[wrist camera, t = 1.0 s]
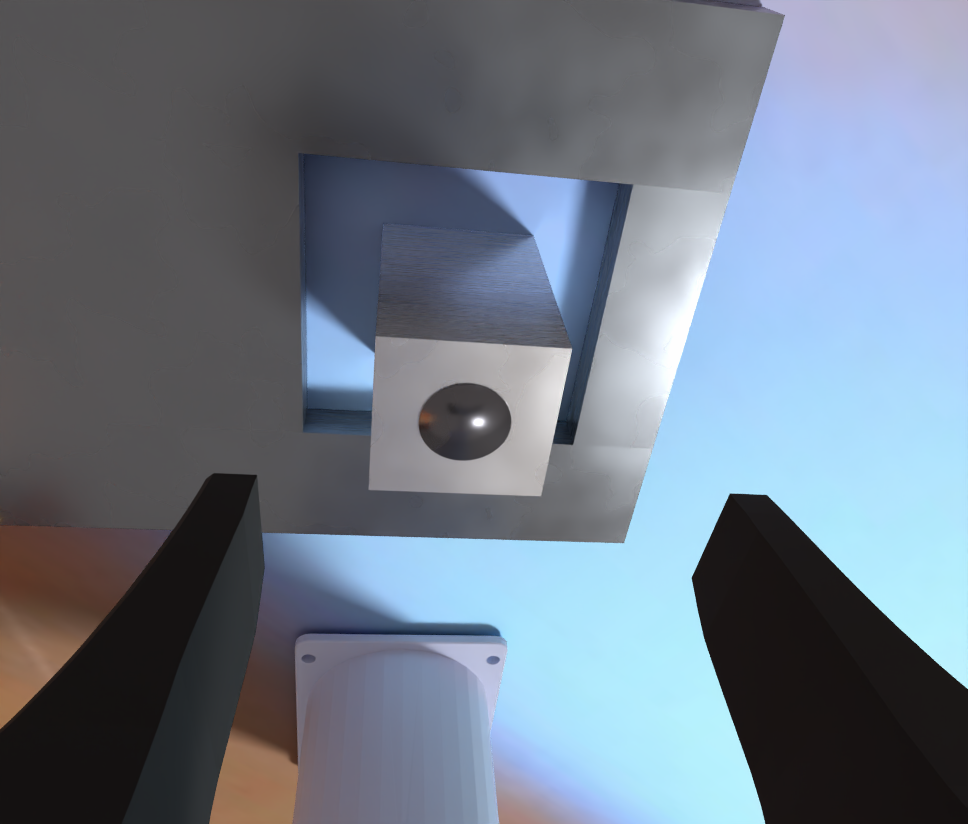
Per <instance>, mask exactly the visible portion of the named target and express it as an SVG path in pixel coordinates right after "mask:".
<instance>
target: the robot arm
mask: <svg viewBox="0 0 968 824" xmlns="http://www.w3.org/2000/svg"><path fill="white" fill-rule="evenodd" d="M264 568H265V566H264V554H263V541H262V529H261V517H260V504H259V492H258V479H257V475H250V474H225V473H213V474H212V475H210V476H209V477H208V478H206V480H205V481H204V483H203V485H202V486H201V488H200V490H199V491H198V493H197V495H196V496H195V498H194V499H193V501H192V502H191V504H190V506H189V507H188V509H187V510H186V512H185V513H184V515H183V516H182V518H181V519H180V521H179V522H178V523H177V525H176V526H175V528H174V529H173V531H172V532H171V533H170V535H169V536H168V538H167V539H166V541H165V542H164V543H163V545H162V546H161V548H160V549H159V550H158V552H157V553H156V554H155V556H154V557H153V558H152V559H151V561H150V562H149V563H148V565H147V566H146V567H145V569H144V570H143V571H142V573H141V574H140V575H139V577H138V578H137V579H136V581H135V582H134V583H133V584H132V586H131V587H130V588H129V590H128V591H127V592H126V593H125V595H124V596H123V597H122V598H121V600H120V601H119V602H118V603H117V604H116V606H115V607H114V608H113V609H112V610H111V611H110V613H109V614H108V615H107V616H106V617H105V619H104V620H103V621H102V622H101V623H100V624H99V626H98V627H97V628H96V629H95V630H94V631H93V633H92V634H91V635H90V636H89V637H88V639H87V640H86V641H85V642H84V643H83V644H82V646H81V647H80V648H79V649H78V650H77V651H76V652H75V653H74V654H73V656H72V657H71V658H70V659H69V660H68V661H67V662H66V663H65V664H64V665H63V667H62V668H61V669H60V670H59V671H58V672H57V673H56V674H55V675H54V676H53V677H52V678H51V679H50V680H49V681H48V682H47V684H46V685H45V686H44V687H43V688H42V689H41V690H40V691H39V692H38V693H37V694H36V695H35V696H34V697H33V698H32V699H31V700H30V701H29V702H28V703H27V704H26V705H25V706H24V707H23V708H22V709H21V710H20V711H19V712H18V713H17V714H16V715H15V716H14V717H13V718H12V719H11V720H10V721H9V722H8V723H7V724H6V725H4V726H3V727H2V728H1V729H0V824H209V821H210V815H211V810H212V805H213V800H214V796H215V791H216V786H217V782H218V778H219V774H220V770H221V766H222V762H223V758H224V754H225V750H226V746H227V743H228V739H229V735H230V731H231V727H232V723H233V719H234V715H235V711H236V708H237V704H238V700H239V696H240V692H241V688H242V684H243V680H244V676H245V672H246V668H247V664H248V660H249V657H250V653H251V649H252V645H253V641H254V636H255V632H256V626H257V619H258V612H259V605H260V598H261V590H262V583H263V576H264ZM692 582H693V587H694V592H695V597H696V603H697V608H698V613H699V617H700V622H701V626H702V631H703V635H704V639H705V642H706V645H707V648H708V651H709V654H710V657H711V660H712V663H713V666H714V669H715V672H716V675H717V678H718V680H719V683H720V686H721V689H722V692H723V695H724V698H725V700H726V703H727V706H728V709H729V712H730V715H731V717H732V720H733V723H734V726H735V729H736V732H737V734H738V737H739V740H740V743H741V746H742V749H743V751H744V754H745V757H746V760H747V763H748V766H749V768H750V771H751V774H752V777H753V781H754V784H755V787H756V790H757V794H758V797H759V800H760V804H761V807H762V811H763V815H764V820H765V824H968V689H967V688H966V687H965V686H963V685H962V684H961V683H960V682H959V681H957V680H956V679H955V678H954V677H953V676H952V675H950V674H949V673H948V672H947V671H946V670H945V669H943V668H942V667H941V666H940V665H939V664H938V663H936V662H935V661H934V660H933V659H932V658H931V657H930V656H929V655H928V654H927V653H926V652H924V651H923V650H922V649H921V648H920V647H919V646H918V645H917V644H916V643H915V642H913V641H912V640H911V639H910V638H909V637H908V636H907V635H906V634H905V633H904V632H902V631H901V630H900V629H899V628H898V627H897V626H896V625H895V624H894V623H893V622H892V621H891V620H890V619H889V618H888V617H887V616H886V615H885V614H884V613H883V612H881V611H880V610H879V609H878V608H877V607H876V606H875V605H874V604H873V603H872V602H871V601H870V600H869V599H868V598H867V597H866V596H865V595H864V594H863V593H862V592H861V591H860V590H859V589H858V588H857V587H856V586H855V585H854V584H853V583H852V582H851V581H850V580H849V579H848V578H847V577H846V576H845V575H844V574H843V573H842V572H841V571H840V570H839V568H838V567H837V566H836V565H835V564H834V563H833V562H832V561H831V560H830V559H829V558H828V557H827V556H826V555H825V554H824V553H823V552H822V551H821V550H820V549H819V548H818V547H817V546H816V545H815V544H814V543H813V542H812V541H811V539H810V538H809V537H808V536H807V535H806V534H805V533H804V532H803V531H802V530H801V529H800V528H799V527H798V526H797V525H796V524H795V523H794V522H793V521H792V520H791V519H790V518H789V517H788V516H787V515H786V514H785V513H784V512H783V511H782V510H781V509H780V508H779V507H778V506H777V505H776V504H775V503H774V502H773V501H772V500H771V499H770V498H769V497H768V496H767V495H753V494H730V495H729V497H728V499H727V501H726V503H725V506H724V508H723V510H722V512H721V514H720V517H719V519H718V521H717V523H716V525H715V528H714V530H713V532H712V534H711V536H710V539H709V541H708V543H707V545H706V548H705V550H704V552H703V554H702V556H701V559H700V561H699V563H698V565H697V567H696V570H695V572H694V574H693V576H692ZM309 654H310V655H309ZM506 656H507V643H506V640H505V639H504V638H502V637H500V636H465V635H382V634H304V635H301V636H299V637H298V638H297V640H296V644H295V674H296V708H297V742H298V782H297V791H296V799H295V807H294V816H293V824H499V819H498V808H497V798H496V788H495V777H494V767H493V757H492V746H491V736H490V732H491V727H492V722H493V717H494V713H495V708H496V703H497V698H498V694H499V689H500V684H501V679H502V675H503V670H504V665H505V660H506Z"/></svg>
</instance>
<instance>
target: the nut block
mask: <svg viewBox="0 0 968 824" xmlns="http://www.w3.org/2000/svg"><path fill="white" fill-rule="evenodd" d="M571 353H572V346H571V344H570V341H569V338H568V335H567V332H566V329H565V326H564V323H563V320H562V317H561V314H560V311H559V309H558V306H557V303H556V300H555V297H554V294H553V291H552V288H551V285H550V282H549V279H548V276H547V274H546V271H545V268H544V265H543V262H542V259H541V256H540V253H539V250H538V247H537V244H536V241H535V239H534V236H532V235H520V234H508V233H496V232H484V231H472V230H460V229H448V228H436V227H424V226H412V225H399V224H387V223H383V235H382V250H381V264H380V279H379V293H378V308H377V323H376V338H375V360H374V382H373V404H372V426H371V448H370V470H369V490H385V491H411V492H438V493H465V494H492V495H518V496H541V494H542V489H543V485H544V480H545V475H546V471H547V466H548V461H549V456H550V452H551V447H552V442H553V438H554V433H555V428H556V423H557V419H558V414H559V409H560V405H561V400H562V395H563V390H564V386H565V381H566V376H567V372H568V367H569V362H570V357H571Z"/></svg>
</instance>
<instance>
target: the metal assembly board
mask: <svg viewBox="0 0 968 824" xmlns="http://www.w3.org/2000/svg"><path fill="white" fill-rule="evenodd" d="M784 16H785V15H783V14H780V13H778V12H775V11H772V10H770V9H767V8H765V7H757V6H750V5H742V4H734V3H726V2H719V1H711V0H0V525H20V526H54V527H89V528H123V529H158V530H173V529H174V528H175V526H176V525H177V523H178V522H179V521H180V519H181V518H182V516H183V515H184V513H185V512H186V510H187V509H188V507H189V506H190V504H191V502H192V501H193V499H194V498H195V496H196V495H197V493H198V491H199V490H200V488H201V486H202V485H203V483H204V481H205V480H206V478H208V477H209V476H210V475H212V474H213V473H225V474H250V475H257V479H258V492H259V504H260V517H261V529H262V533H295V534H330V535H364V536H399V537H433V538H468V539H502V540H537V541H571V542H605V543H624V541H625V538H626V534H627V531H628V528H629V525H630V521H631V518H632V515H633V512H634V508H635V505H636V502H637V498H638V495H639V492H640V489H641V485H642V482H643V479H644V475H645V472H646V469H647V466H648V462H649V459H650V456H651V453H652V449H653V446H654V443H655V439H656V436H657V433H658V430H659V426H660V423H661V420H662V416H663V413H664V410H665V407H666V403H667V400H668V397H669V393H670V390H671V387H672V384H673V380H674V377H675V374H676V371H677V367H678V364H679V361H680V357H681V354H682V351H683V348H684V344H685V341H686V338H687V334H688V331H689V328H690V325H691V321H692V318H693V315H694V312H695V308H696V305H697V302H698V298H699V295H700V292H701V289H702V285H703V282H704V279H705V275H706V272H707V269H708V266H709V262H710V259H711V256H712V253H713V249H714V246H715V243H716V239H717V236H718V233H719V230H720V226H721V223H722V220H723V216H724V213H725V210H726V207H727V203H728V200H729V197H730V193H731V190H732V187H733V184H734V180H735V177H736V174H737V171H738V167H739V164H740V161H741V157H742V154H743V151H744V148H745V144H746V141H747V138H748V134H749V131H750V128H751V125H752V121H753V118H754V115H755V112H756V108H757V105H758V102H759V98H760V95H761V92H762V89H763V85H764V82H765V79H766V75H767V72H768V69H769V66H770V62H771V59H772V56H773V53H774V49H775V46H776V43H777V39H778V36H779V33H780V30H781V26H782V23H783V20H784ZM304 154H314V155H325V156H336V157H346V158H357V159H368V160H378V161H389V162H400V163H410V164H421V165H431V166H442V167H453V168H463V169H474V170H485V171H495V172H506V173H516V174H527V175H538V176H548V177H559V178H570V179H580V180H591V181H601V182H612V183H619V186H618V191H617V195H616V200H615V204H614V209H613V213H612V218H611V222H610V227H609V231H608V236H607V241H606V245H605V250H604V254H603V259H602V263H601V268H600V272H599V277H598V281H597V286H596V290H595V295H594V299H593V304H592V309H591V313H590V318H589V322H588V327H587V331H586V336H585V340H584V345H583V349H582V354H581V358H580V363H579V368H578V372H577V377H576V381H575V386H574V390H573V395H572V399H571V404H570V408H569V413H568V417H567V422H559V421H557V423H556V428H555V433H554V438H553V442H552V447H551V452H550V456H549V461H548V466H547V471H546V475H545V480H544V485H543V489H542V494H541V496H518V495H492V494H465V493H438V492H411V491H385V490H369V470H370V448H371V426H372V412H361V411H341V410H321V409H307V344H306V261H305V178H304Z"/></svg>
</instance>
